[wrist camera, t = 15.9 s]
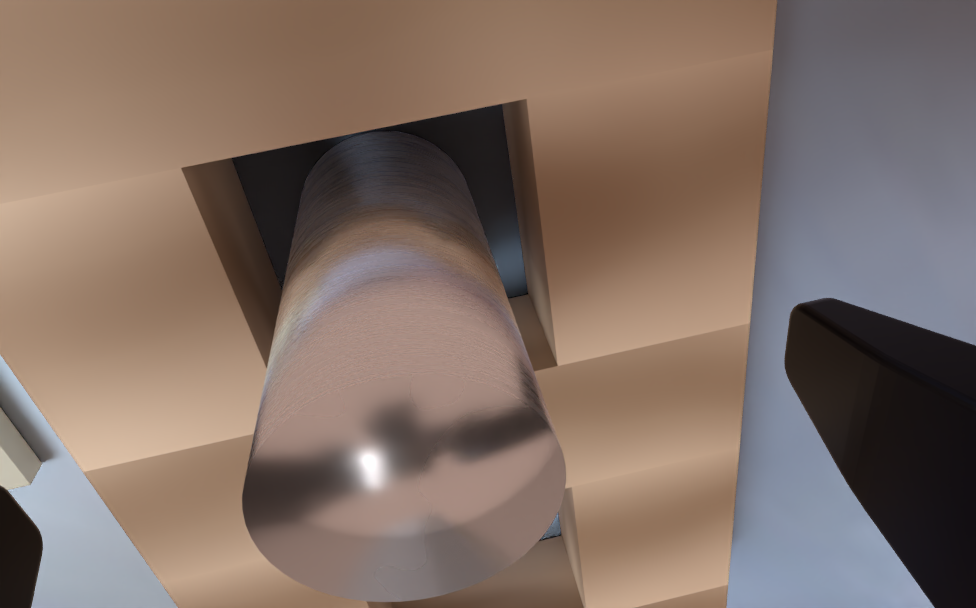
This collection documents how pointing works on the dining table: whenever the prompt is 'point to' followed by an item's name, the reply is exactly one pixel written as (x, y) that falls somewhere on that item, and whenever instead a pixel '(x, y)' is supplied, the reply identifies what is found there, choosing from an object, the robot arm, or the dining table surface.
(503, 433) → the pin
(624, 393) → the hole board
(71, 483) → the dining table surface
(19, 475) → the plate
